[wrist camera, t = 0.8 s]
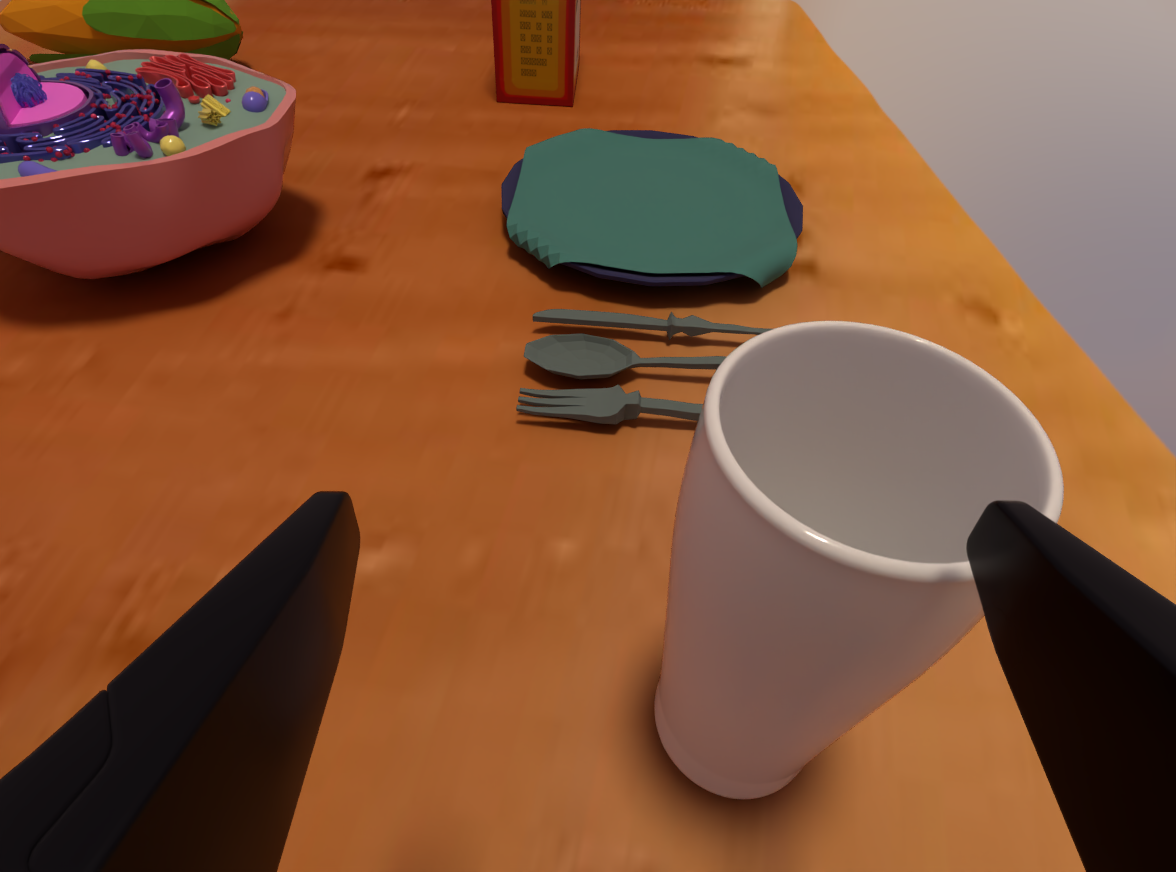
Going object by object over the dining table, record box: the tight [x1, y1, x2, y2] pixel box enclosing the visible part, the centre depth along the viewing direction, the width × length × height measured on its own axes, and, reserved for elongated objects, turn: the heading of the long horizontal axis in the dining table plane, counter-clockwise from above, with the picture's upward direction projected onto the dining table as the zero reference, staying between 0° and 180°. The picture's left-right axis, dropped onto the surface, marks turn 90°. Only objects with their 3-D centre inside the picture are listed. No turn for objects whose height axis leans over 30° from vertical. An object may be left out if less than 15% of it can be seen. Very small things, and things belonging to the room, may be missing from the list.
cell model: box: [0, 44, 296, 279], centre depth 38 cm, size 17×20×11 cm
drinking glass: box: [654, 321, 1064, 799], centre depth 19 cm, size 7×7×15 cm
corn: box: [0, 0, 243, 63], centre depth 58 cm, size 7×8×20 cm
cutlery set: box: [502, 128, 803, 424], centre depth 43 cm, size 20×30×2 cm, turn 176°
